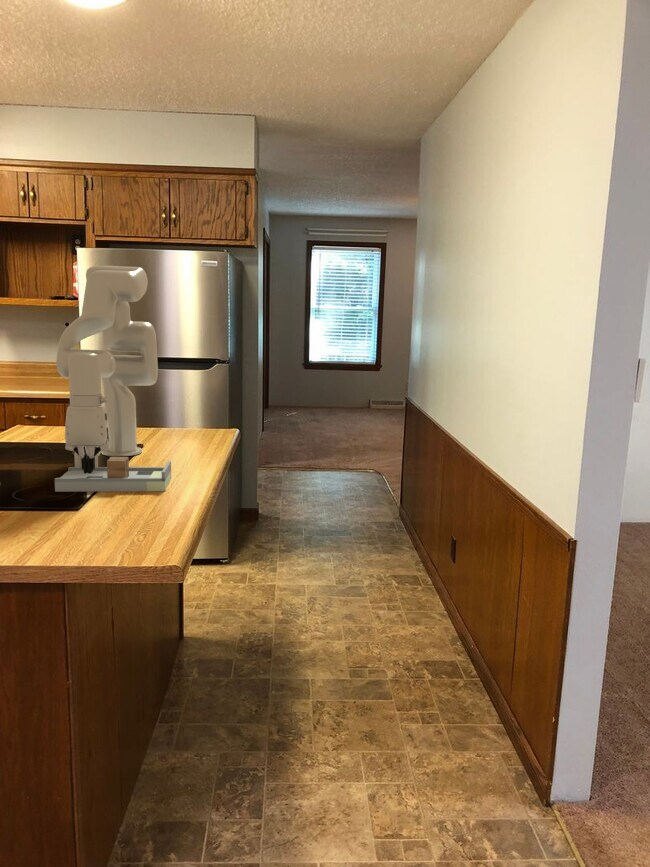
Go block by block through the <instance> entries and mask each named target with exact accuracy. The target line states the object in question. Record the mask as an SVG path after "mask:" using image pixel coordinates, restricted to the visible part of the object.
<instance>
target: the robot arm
mask: <svg viewBox="0 0 650 867" xmlns="http://www.w3.org/2000/svg"><path fill="white" fill-rule="evenodd" d="M85 279H86V281H85V289H84V295H83V300H82V301H83V303H82V307H81V315H80V316H79V317H77V318H76V319H75V320H74V321H72V322H71V323H70V324H69V325H68V326H67V327H66V328H65V329H64V331H63V332H62V334H61V335H60V338H59V341H58V347H57V353H56V362H55V363H56V370H57V372H58V374H59V375H60V376H61V377H63V378H66V379H68V389H69V405H68V406H67V408H66V413H65V426H64V441H65V447H64V448H65V450H67V451H71V452H76V453H77V454H78V455H79V457H80V458H81V465H82V470H84V474H86V473H88V474H91V473H92V472H93V470H94V469H95V456H96V455H97V454H98V455H99V453H102V454H101V455H102V456H107V457H132V456H137V455H140V454H141V453H142V451H143V449H142V448H141V447H139V446H138V443H137V440H138V439H137V438H138V437H137V404H136V402H137V401H136V397H135V395H134V393H132V391H131V390H130V388H128V386H129V387H130V386H132V387H133V386H134V387H135V386H140V387H141V386H142V387H143V386H145V387H147V386H149V387H150V386H153V385H155V384H156V383H157V381H158V376H159V366H158V365H159V364H158V349H157V348H158V346H157V345H158V344H157V334H156V330H155V327H154V325H153V324H152V323H150V322H149V321H148V322H147V321H132V320H131V307H130V303H134V302H138V301H140V300H141V299H142V298H143V296H144V295H145V294H146V292H147V290H148V285H149V282H148V275H147V272H146V271H145V269H143V267H139V266H121V265H119V266H118V265H93V266H90V267H89V268H87V269H86V272H85ZM100 333H102V337H103V338H102V340H103V345H104V347H105V348H106V349H107V350H109V351H111V352H121V353H123V352H124V353H139V354H140V355H126V354H123V355H121V354H119V355H118V354H116V355H113V354H112V353H111V352H109V351H107V350H104V349H77V348H75V347H76V345H77V344H78V343H79V342H81V341H83V340H85V339H86V338H89V337H92V336H95V335H97V334H100ZM74 348H75V349H74ZM102 386H103V393H104V394H102ZM103 395H104V396H103ZM103 404H104V405H103ZM86 446H90V451H89V456H88V454H87V451H86Z"/></svg>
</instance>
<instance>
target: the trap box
mask: <svg viewBox="0 0 650 867" xmlns="http://www.w3.org/2000/svg"><path fill="white" fill-rule="evenodd" d="M67 470H68V471H66V472H65V473H63V475H61V476H60V477H55V478H54V492H57V493H58V492H59V493H60V492H67V493H68V492H166V490H167V488H168V486H169V484H170V482H171V481H172V461H171V460H167V462H166V464H165V465H164V466H129V477H128V478H108V477H107V466H98V467H95V469H94V470H93V472H92V473H91V474H88V473H86V474H84V470H82V467H75V466H70V467H68V469H67Z"/></svg>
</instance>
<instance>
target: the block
mask: <svg viewBox="0 0 650 867" xmlns="http://www.w3.org/2000/svg"><path fill="white" fill-rule="evenodd" d="M129 457H130V456H119V457H118V456H110V457H109V459H107V460H106V467H107V477H108V478H128V477H129V467H130V462H129Z"/></svg>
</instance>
